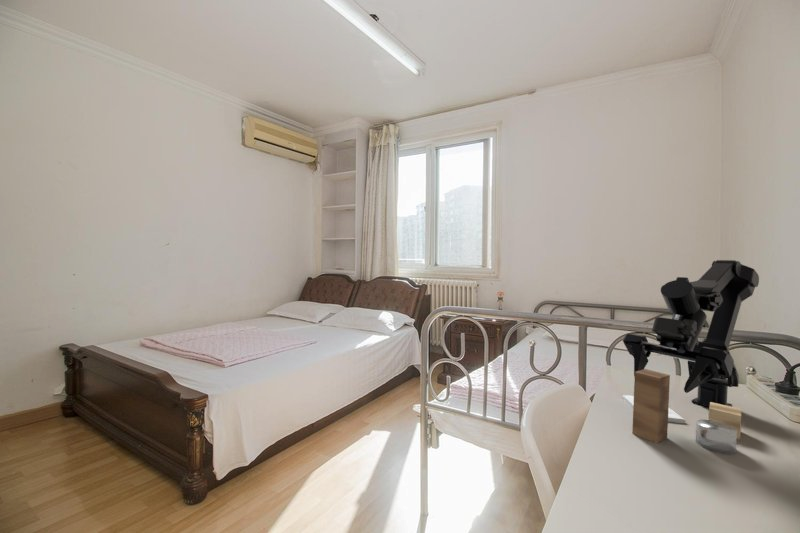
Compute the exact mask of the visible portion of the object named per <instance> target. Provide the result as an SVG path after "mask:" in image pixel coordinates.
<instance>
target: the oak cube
mask: <svg viewBox="0 0 800 533" xmlns="http://www.w3.org/2000/svg"><path fill="white" fill-rule="evenodd" d="M708 420H711V421H715V422H719V423H723V424H725V425H728V426H730V427H732V428H734V429H735V430H736V431H737V440H741V431H742V408H739V407H735V406H732V407H731V406H726V405H722V404H717V403H713V402H710V406H709V407H708Z"/></svg>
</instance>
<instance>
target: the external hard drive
mask: <svg viewBox="0 0 800 533" xmlns="http://www.w3.org/2000/svg"><path fill="white" fill-rule="evenodd" d="M623 399H624V400H623ZM622 400H623V401H625V402H626V403H627V404H628V406H630V407H631V408H632V409H633V406H634V395H627V394H623V395H622ZM686 421H687V420H686V419H685V418H683V417H682V416H681V415H679V414H678V413H677V412H675V411H674V410H673V409H672V408H670V407H668V423H677V424H686Z"/></svg>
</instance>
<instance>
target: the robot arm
mask: <svg viewBox="0 0 800 533" xmlns="http://www.w3.org/2000/svg"><path fill="white" fill-rule="evenodd" d="M759 283H760V276H759V274H758V272H757V271H756V270H755V269H754V268H753V267H750V266H747V265H744V264H742V263H741V261H739V260H734V259H717V260H714V261H712V264H711V267H710V268H709V269H708V270H706V272H705V273H704V274H703V275H702V276H701V277H700V278H699V279H698V280H695V281H690V280H689V278H688V277H686V276H685V277H680V276H677V277H676V279H675V280H670V281H669V282H666V283H665V284H663V285H661V287H660V293H661V296H662V298H663V300H664V302H665V305H666V308H667V309H668V311H669V312H670V313H671V314H672V316H671V318H668V317H660V316H655V317H654V321H653V324H652V330H651V332H652V333H654V334H656V336H655V340H656V341H657V342H659V343H654V342H649V340H648V339H647V336H646V335H643V334H642V335H640V334H635V333H631V332H630V333H626V334H625V335H624V338H623V339H622V342H623V344H624V346H625V348H626V350H627V352H628V354H629V355H631V356H632V357H633V361H634V362H633V376H634V378H635V372H636V371H640V370H643V369H646V366H647V365H648V363H649V359H648V358H649V357H650V356H651V354H652V353H654V354H659V355H663V356H668V357H671V358H673V359H674V358H675V359H679V360H684V361H687V368H688V378H687V380H686V381H685V384H684V388H683V392H684V393H686V394H687V393H689V392H692V391H693V390H695V389H696V388H697V397H695V398H693V399H691V403H693V404H697V405H701V406H703V407H707V408H709V406H710V402H713V403H717V404H722V405H726V406H731V407H733V404H732V403H729V402H728V392H729V390H728V389H729V388H734V387H735V388H738V387H739V384H740V379H739V373H738V370H737V367H736V365H735V362H734V358H733V356H732V354H731V352H730V350H729V346H730V344H731V341H732V337H733V335H734V334H733V333H734V329H735V326H736V323H737V319H738V316H739V312H740V309H741V305H742V302H744V301H745V300H746V299H748V298H750V297H752V296H753V294H754V291H755V289H756V288H758V287H759ZM706 312H711V313H712V312H713V314H712V318H711V321H710V324H709V327H708V330H707V333H706V337H705V339H704V340H702V341H699V337H700V335H701V332H702V330H703V328H706V327H707V323H706V320H707V318H708V317H707V314H706Z"/></svg>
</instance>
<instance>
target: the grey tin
mask: <svg viewBox="0 0 800 533" xmlns="http://www.w3.org/2000/svg"><path fill="white" fill-rule="evenodd" d="M694 438H695V443H696V444H697V445H698V446H700V447H701V448H703V449H705V450H708V451H710V452H713V453H716V454H721V455H728V456H731V455H735V454H736V453H737V444H738V443H737V441H738V439H737V431H736V430H735V429H734V428H732V427H730V426H728V425H725V424H723V423H719V422H715V421H711V420H709V419H697V420H696V421H695V437H694Z"/></svg>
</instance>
